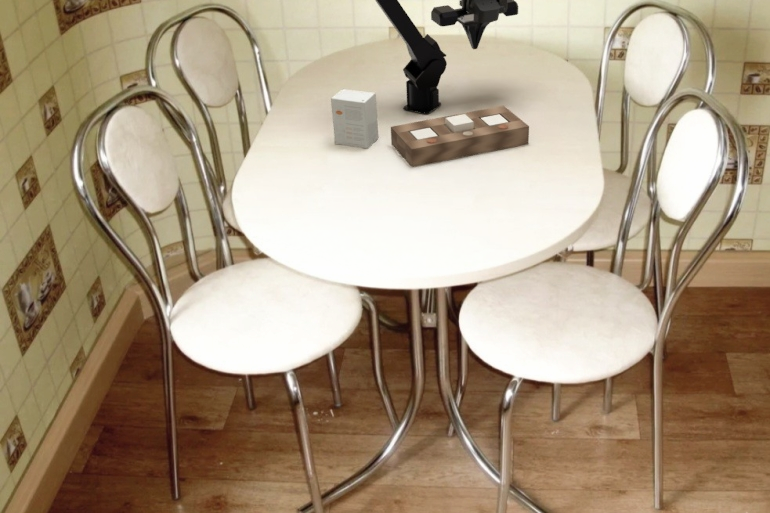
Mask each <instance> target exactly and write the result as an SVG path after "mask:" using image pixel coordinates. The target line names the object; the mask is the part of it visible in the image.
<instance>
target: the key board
mask: <svg viewBox="0 0 770 513" xmlns="http://www.w3.org/2000/svg"><path fill="white" fill-rule="evenodd" d="M463 114H465V115H466V116H468V117H469V118H470V119H471V120H472V121H473V122H474V129H472V130H467V131H462V132H457V133H452V132H451V131H450V130H449V129H448V128H447V127H446V121H445V118H447V117H452V116H457V115H463ZM498 114H500V115H501V116H502V117H503V118H504V119H506V120H507V121H508V123H503V124H498V125H493V126H488V125H487V124H486V123H484V122H483V121H482V120H481V119H480V118H483V117H488V116H493V115H498ZM425 128H430V129H431V130H432V131H433V132H434V133H436V134H437V135H438V136H436V137H431V138H426V139H421V140H416V139H415V138H414V137H413V136H412V135H411V134H410V131H415V130H420V129H425ZM529 134H530V125H528V124H527V123H526V122H524V121H523V120H522V119H521V118H520V117H518V116H517V115H516V114H515V113H513V112H512V111H511V110H510V109H508V108H507V107H506V106H505V105H499V106H493V107H488V108H483V109H479V110H473V111H468V112H462V113H458V114H456V113H455V114H451V115H447V116H446V115H445V116H441V117H435V118H431V119H430V118H429V119H424V120H419V121H414V122H410V123H404V124H399V125H392V126H390V139H391V143H390V144H391V146H392V147H393V148H394V149H395V150H396V151H397V152H398V153H399V155H401V157H402V158H403V159H404V160H405V161H406V163H408V164H409V165H410V167H411V168H416V167H421V166H425V165H431V164H435V163H441V162H445V161H450V160H455V159H459V158H460V159H461V158H464V157H470V156H475V155H479V154H485V153H490V152H495V151H500V150H505V149H509V148H516V147H519V146H525V145H529V139H530V136H529Z"/></svg>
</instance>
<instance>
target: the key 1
mask: <svg viewBox="0 0 770 513" xmlns="http://www.w3.org/2000/svg"><path fill="white" fill-rule="evenodd" d="M410 134H411V135H412V136H413V137H414V138H415V139H416V140H421V139H426V138H431V137H436V136H438V135H437V134H436V133H434V132H433V131H432V130H431V129H430V128H425V129H420V130H415V131H410Z"/></svg>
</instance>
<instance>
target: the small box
mask: <svg viewBox="0 0 770 513" xmlns="http://www.w3.org/2000/svg"><path fill="white" fill-rule="evenodd" d="M330 102H331V104H330V105H331V114H332V124H333V125H332V126H333V135H334V138H333V139H334V144H336V145H341V146H348V147H353V148H354V147H357V148H362V149H369V148H370V147H372V145H374V143H375V142H376V141H377V140H379V137H380V136H379V124H378V123H379V122H378V108H377V94H376V92H372V91H371V92H370V91H361V90H354V89H346V88H345V89H344V88H343V89H341V90H340V91H339V92H337V93H335V95H334V96H332V97H331V98H330Z"/></svg>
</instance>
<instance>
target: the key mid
mask: <svg viewBox="0 0 770 513" xmlns="http://www.w3.org/2000/svg"><path fill="white" fill-rule="evenodd" d="M445 121H446V127H447V128H448V129H449V130H450V131H451V132H452V133H457V132H462V131H467V130H472V129H474V122H473V121H472V120H471V119H470V118H469V117H468V116H466V115H465V114H463V115H457V116H452V117H447V118H445Z"/></svg>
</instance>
